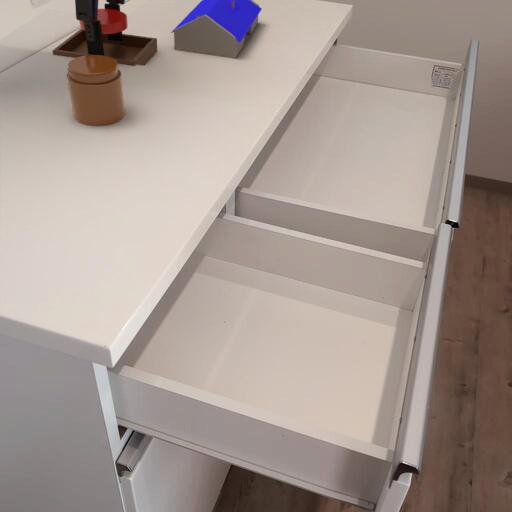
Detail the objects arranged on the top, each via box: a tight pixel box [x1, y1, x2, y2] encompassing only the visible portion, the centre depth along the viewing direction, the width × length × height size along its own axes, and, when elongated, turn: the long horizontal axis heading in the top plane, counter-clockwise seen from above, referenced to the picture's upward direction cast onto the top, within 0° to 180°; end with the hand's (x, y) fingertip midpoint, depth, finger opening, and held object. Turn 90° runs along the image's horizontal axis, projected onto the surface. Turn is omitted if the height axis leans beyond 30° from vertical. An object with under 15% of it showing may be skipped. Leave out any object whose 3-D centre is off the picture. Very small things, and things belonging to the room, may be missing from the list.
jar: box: [66, 55, 126, 127], centre depth 80 cm, size 8×8×10 cm
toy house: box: [170, 0, 263, 59], centre depth 113 cm, size 22×14×7 cm, turn 168°
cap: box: [78, 8, 129, 34], centre depth 99 cm, size 8×8×2 cm
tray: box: [51, 28, 158, 67], centre depth 102 cm, size 15×12×2 cm
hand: (106, 48), depth 102 cm, fingers closed on cap, 8 cm apart
